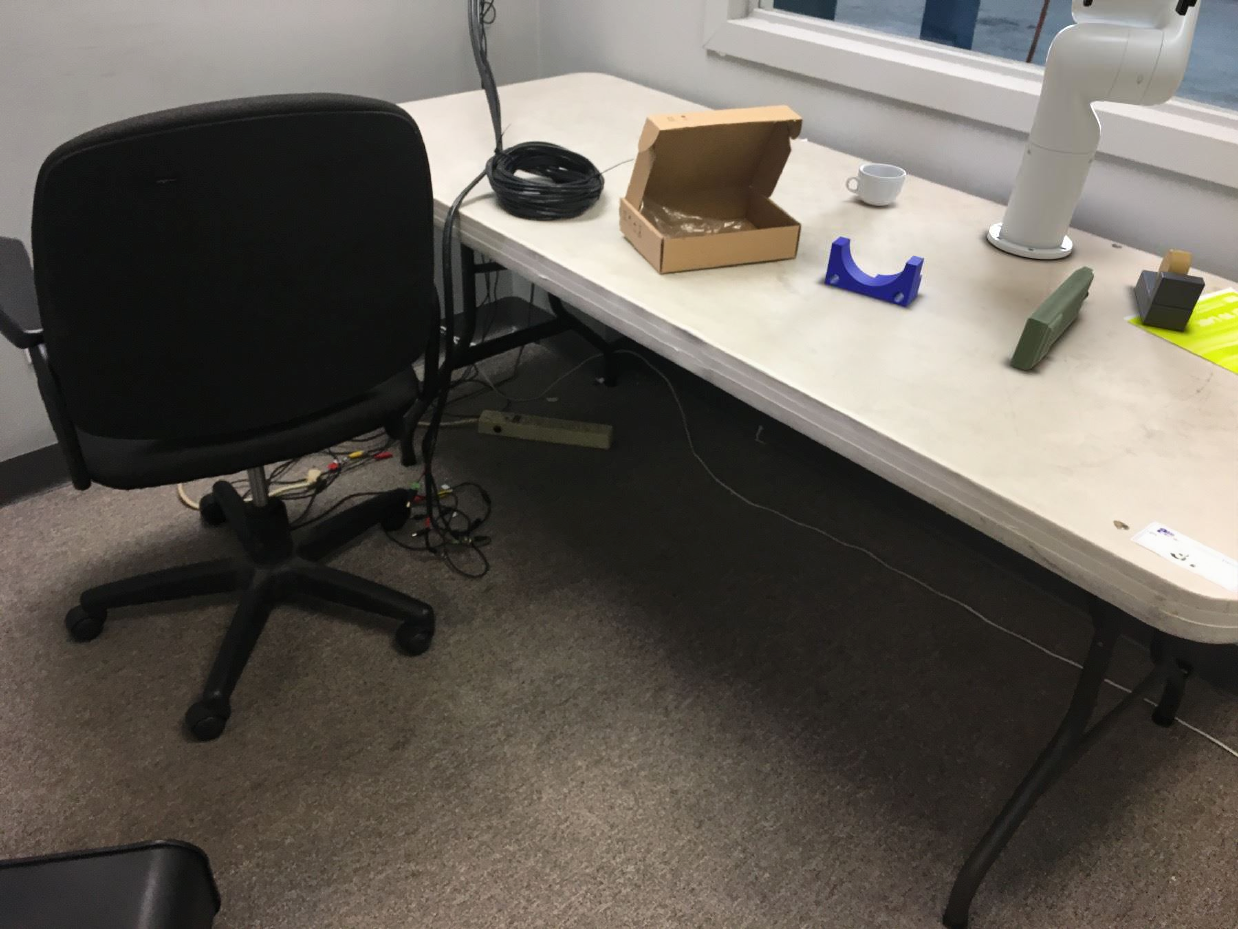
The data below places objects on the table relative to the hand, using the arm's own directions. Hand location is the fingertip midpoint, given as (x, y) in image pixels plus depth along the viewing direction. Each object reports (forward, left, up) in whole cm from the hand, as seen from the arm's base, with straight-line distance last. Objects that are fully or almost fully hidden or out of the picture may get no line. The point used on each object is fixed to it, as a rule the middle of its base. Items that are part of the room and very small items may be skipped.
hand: (1132, 9), depth 97 cm
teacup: (-32, -26, -37) cm, 55 cm away
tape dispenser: (-7, +17, -37) cm, 41 cm away
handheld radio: (+7, +3, -37) cm, 38 cm away
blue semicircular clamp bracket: (+4, -21, -37) cm, 43 cm away
